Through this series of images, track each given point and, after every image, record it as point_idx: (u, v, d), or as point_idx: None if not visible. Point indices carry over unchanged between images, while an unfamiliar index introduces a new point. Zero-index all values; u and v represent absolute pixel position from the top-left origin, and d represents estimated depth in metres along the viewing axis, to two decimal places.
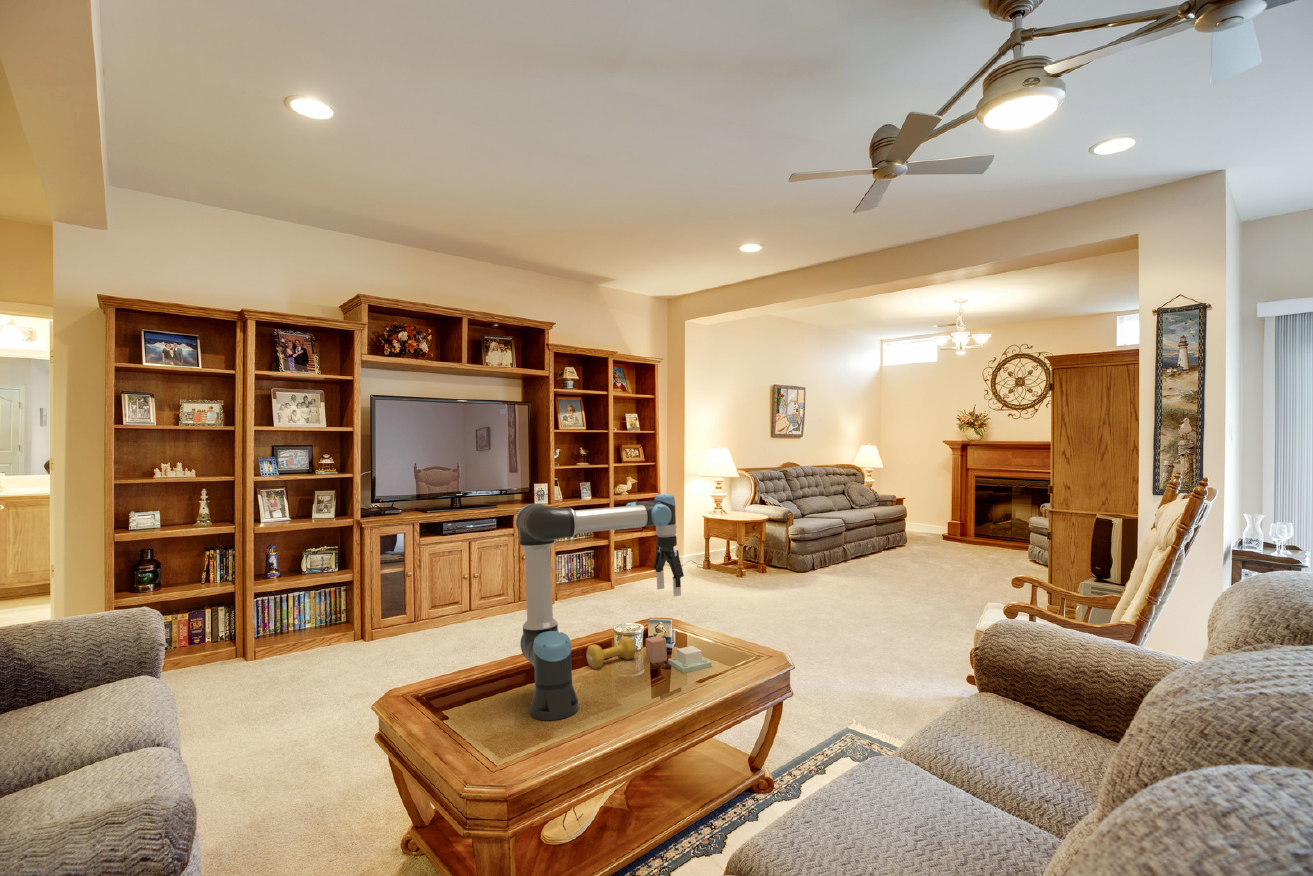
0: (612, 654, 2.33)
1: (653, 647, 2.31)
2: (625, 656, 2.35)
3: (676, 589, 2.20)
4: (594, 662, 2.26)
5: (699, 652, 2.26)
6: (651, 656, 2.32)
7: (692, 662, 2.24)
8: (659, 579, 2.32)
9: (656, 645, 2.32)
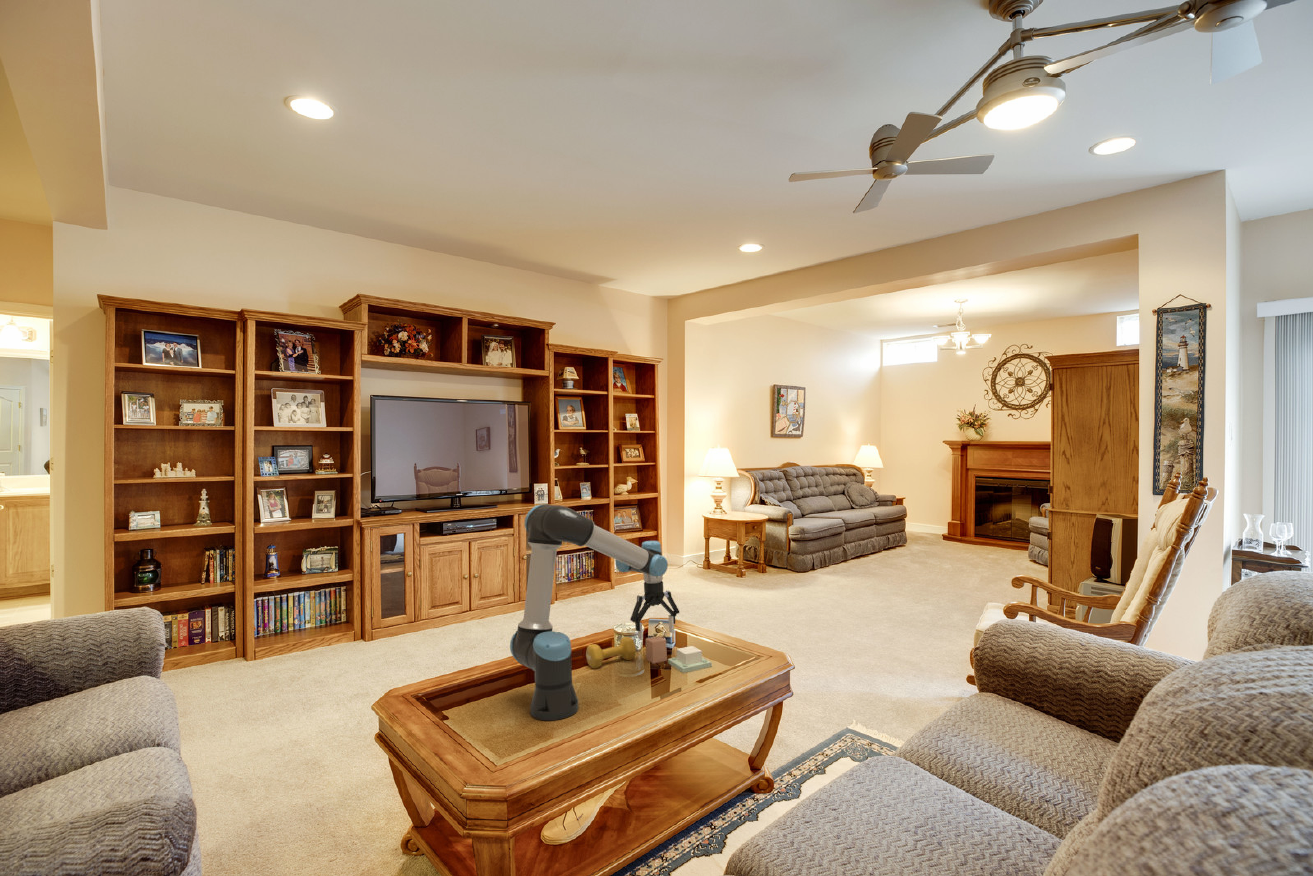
0: (612, 654, 2.33)
1: (653, 647, 2.31)
2: (625, 656, 2.35)
3: (638, 632, 2.33)
4: (593, 661, 2.27)
5: (699, 652, 2.26)
6: (651, 656, 2.32)
7: (692, 662, 2.24)
8: (669, 622, 2.39)
9: (656, 645, 2.32)
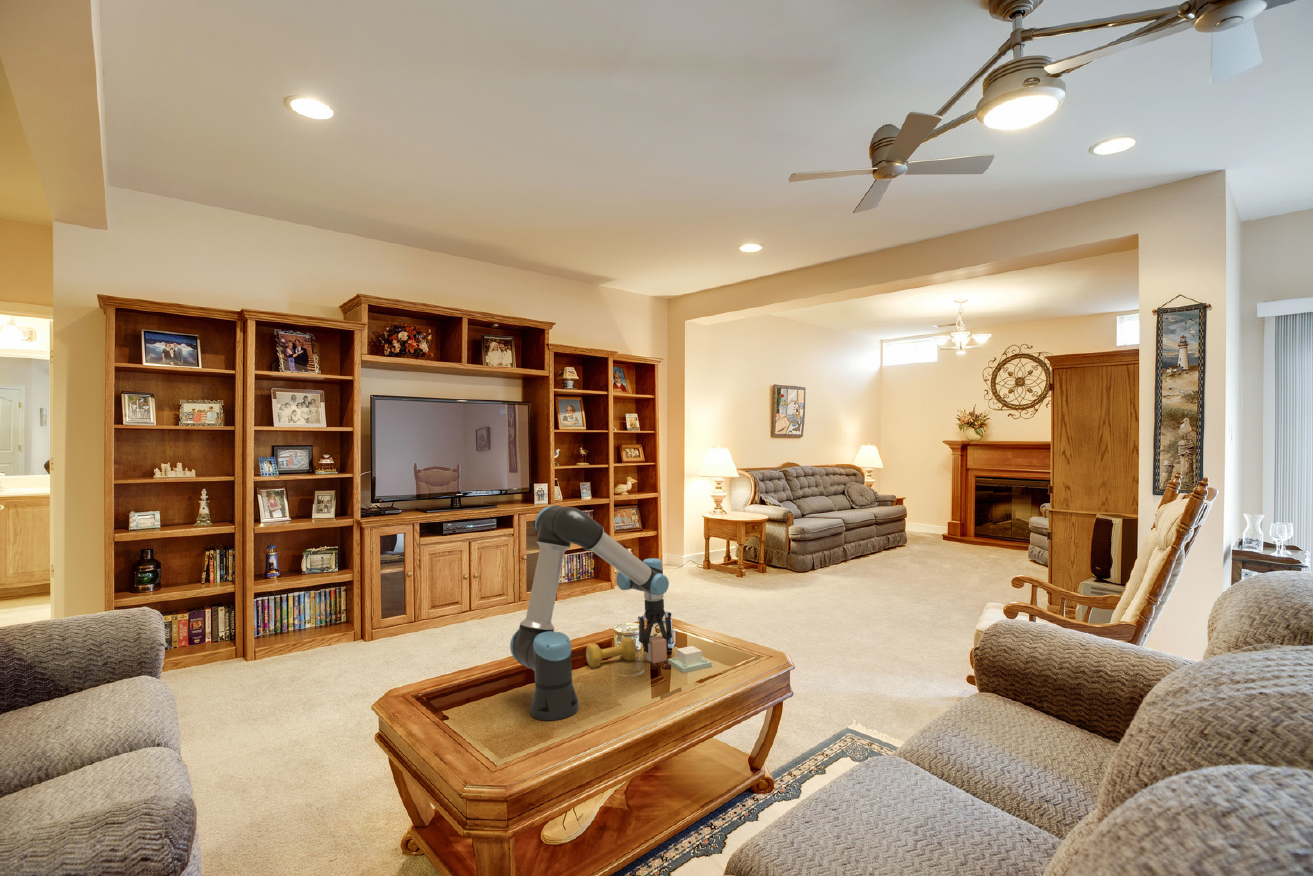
0: (611, 654, 2.33)
1: (653, 647, 2.31)
2: (625, 657, 2.34)
3: (646, 654, 2.34)
4: (591, 661, 2.28)
5: (699, 652, 2.26)
6: (651, 656, 2.32)
7: (692, 662, 2.24)
8: None
9: (656, 645, 2.32)
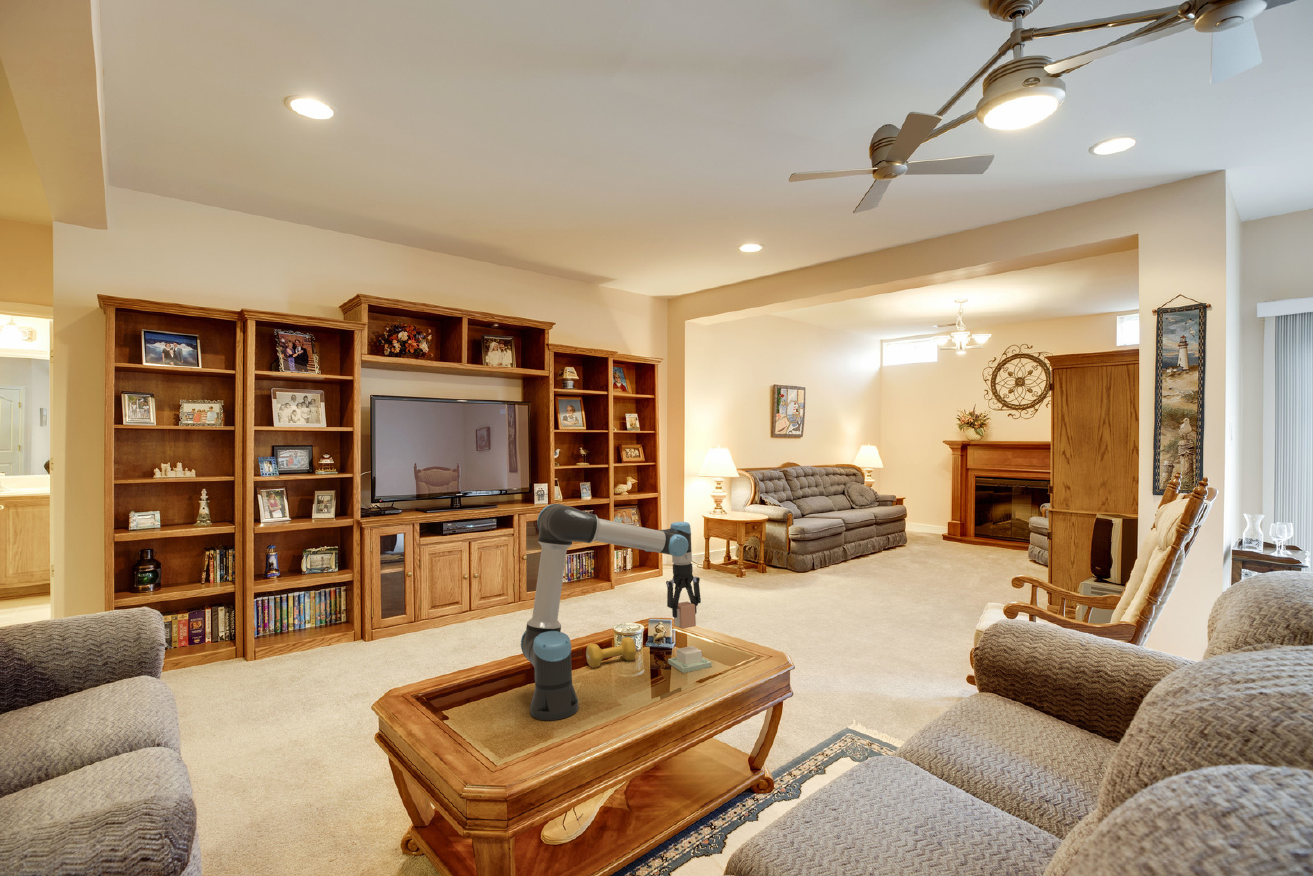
0: (611, 654, 2.33)
1: (682, 612, 2.25)
2: (625, 657, 2.34)
3: (675, 619, 2.28)
4: (591, 661, 2.28)
5: (699, 652, 2.26)
6: (680, 621, 2.26)
7: (692, 662, 2.24)
8: None
9: (685, 609, 2.26)
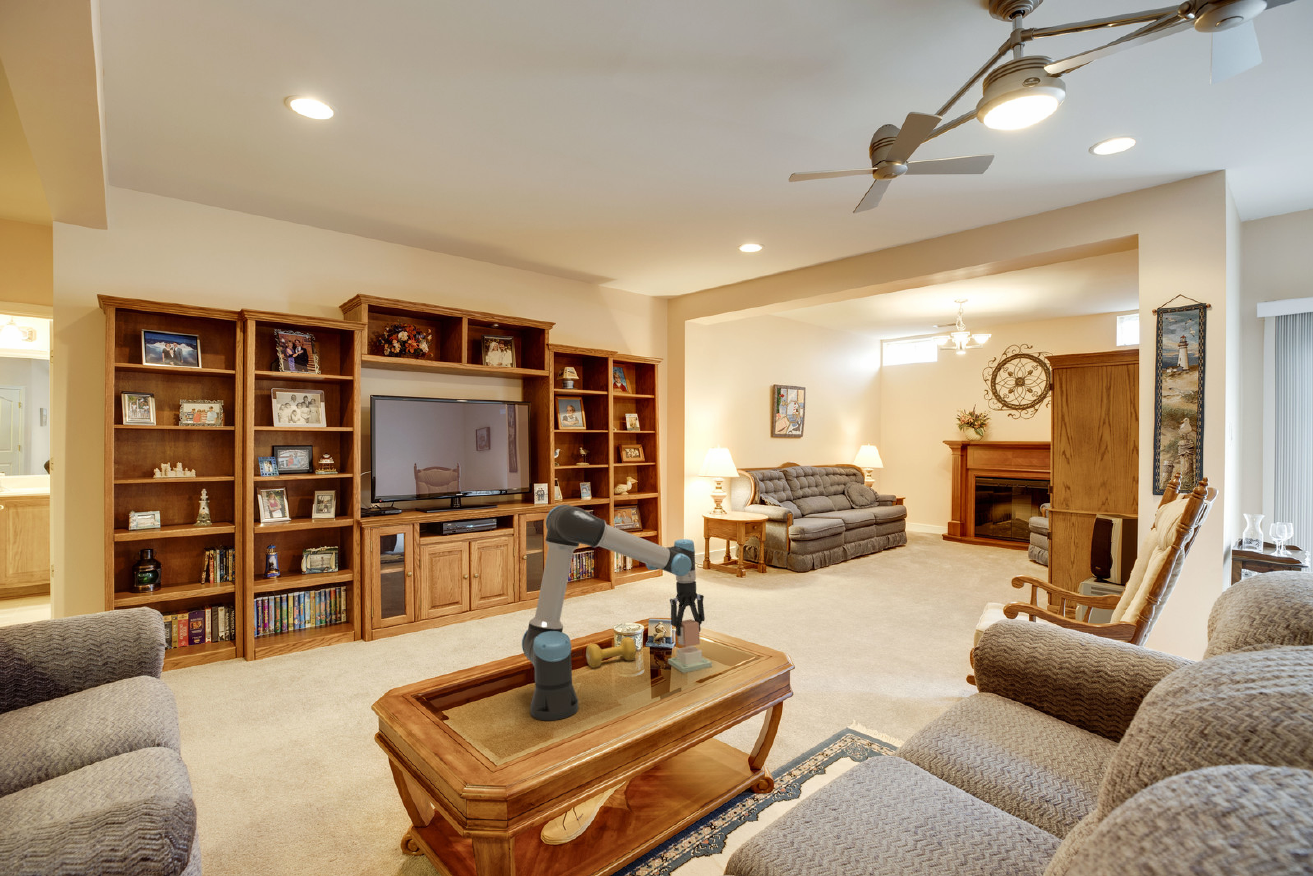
0: (611, 654, 2.33)
1: (686, 630, 2.24)
2: (625, 657, 2.34)
3: (679, 637, 2.27)
4: (591, 661, 2.27)
5: (699, 652, 2.26)
6: (684, 640, 2.25)
7: (692, 662, 2.24)
8: None
9: (688, 628, 2.25)
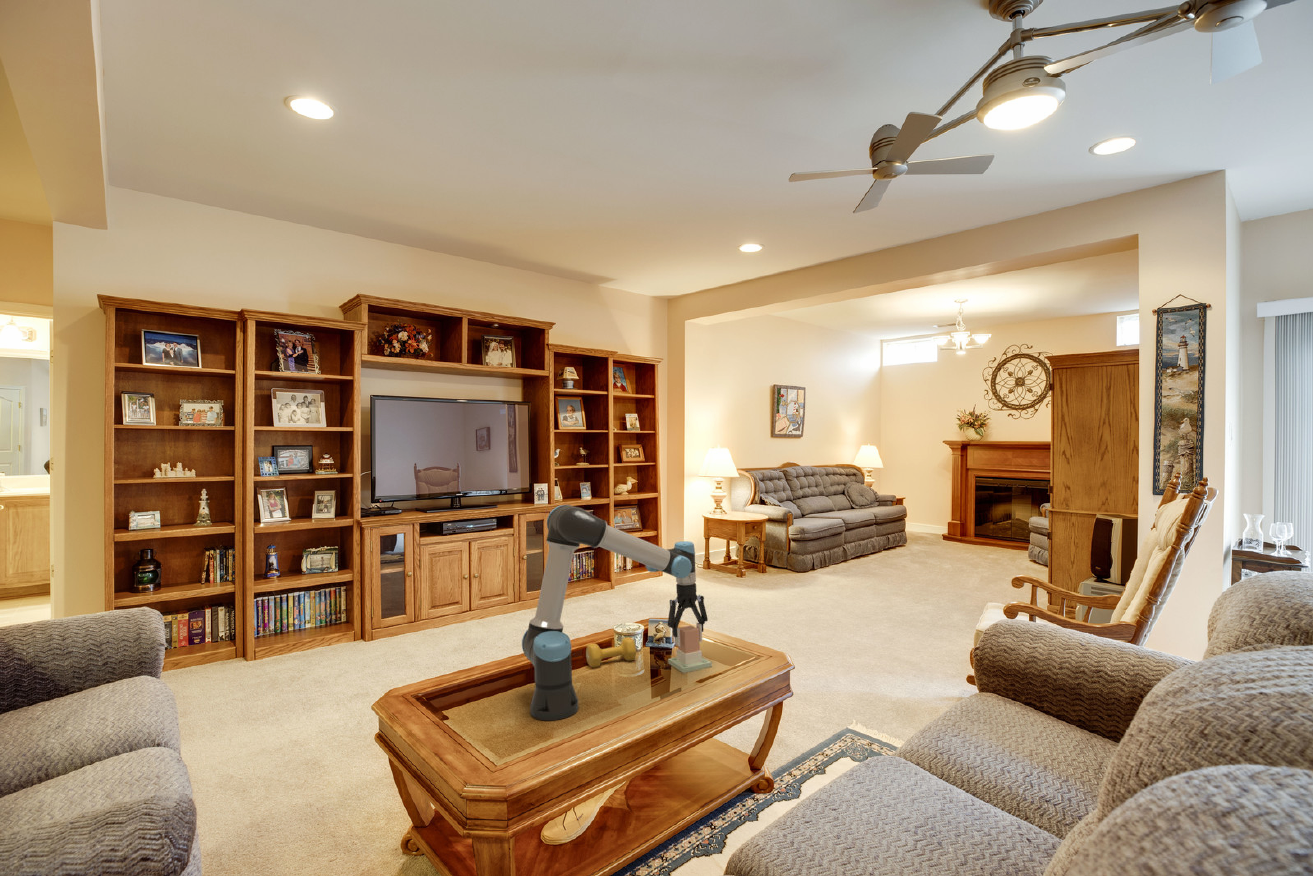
0: (611, 654, 2.33)
1: (686, 637, 2.24)
2: (625, 657, 2.34)
3: (675, 638, 2.26)
4: (591, 661, 2.28)
5: (699, 652, 2.26)
6: (684, 646, 2.25)
7: (692, 662, 2.24)
8: None
9: (688, 634, 2.25)
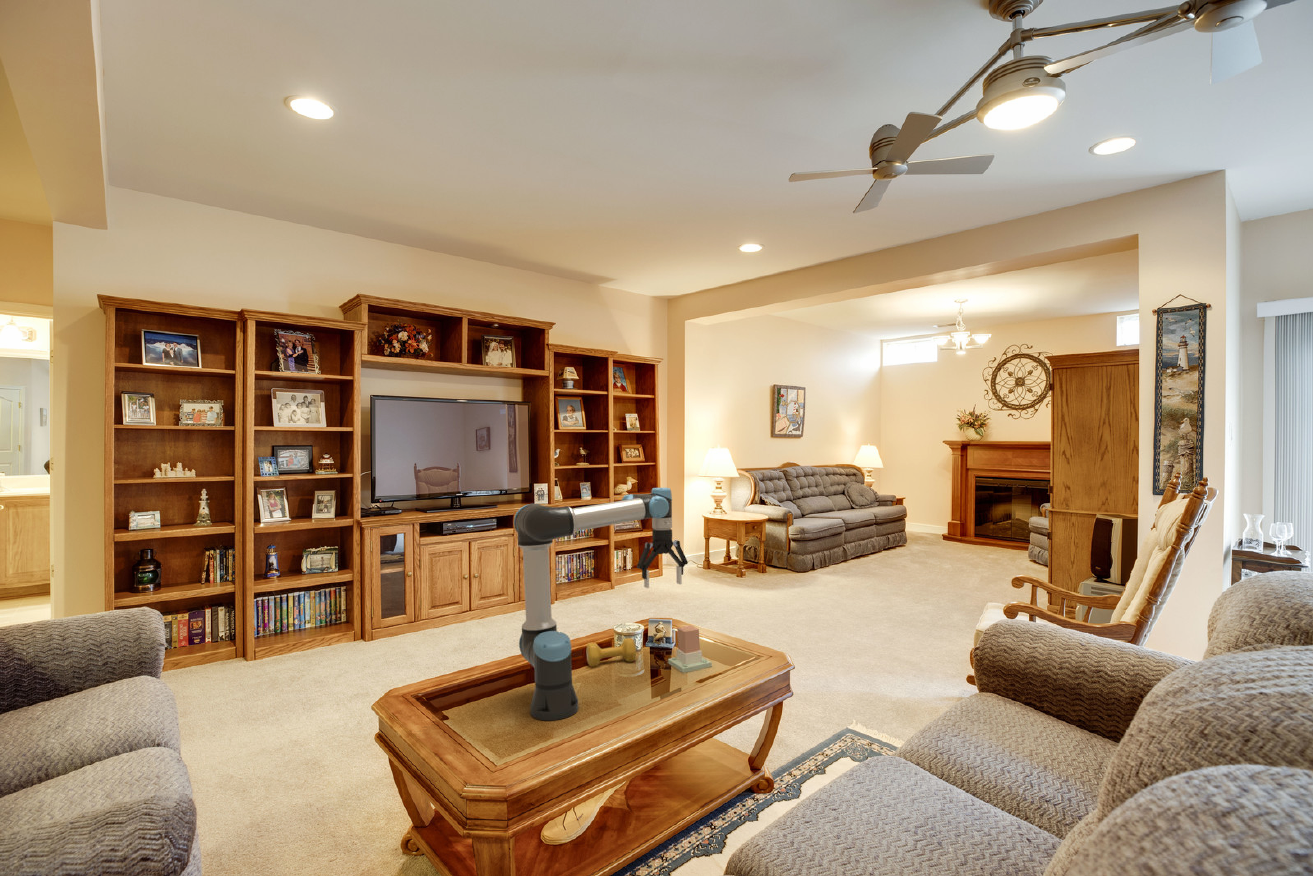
0: (610, 654, 2.33)
1: (686, 637, 2.24)
2: (625, 658, 2.33)
3: (644, 581, 2.24)
4: (589, 660, 2.29)
5: (699, 652, 2.26)
6: (684, 646, 2.25)
7: (692, 662, 2.24)
8: (677, 573, 2.30)
9: (688, 634, 2.25)
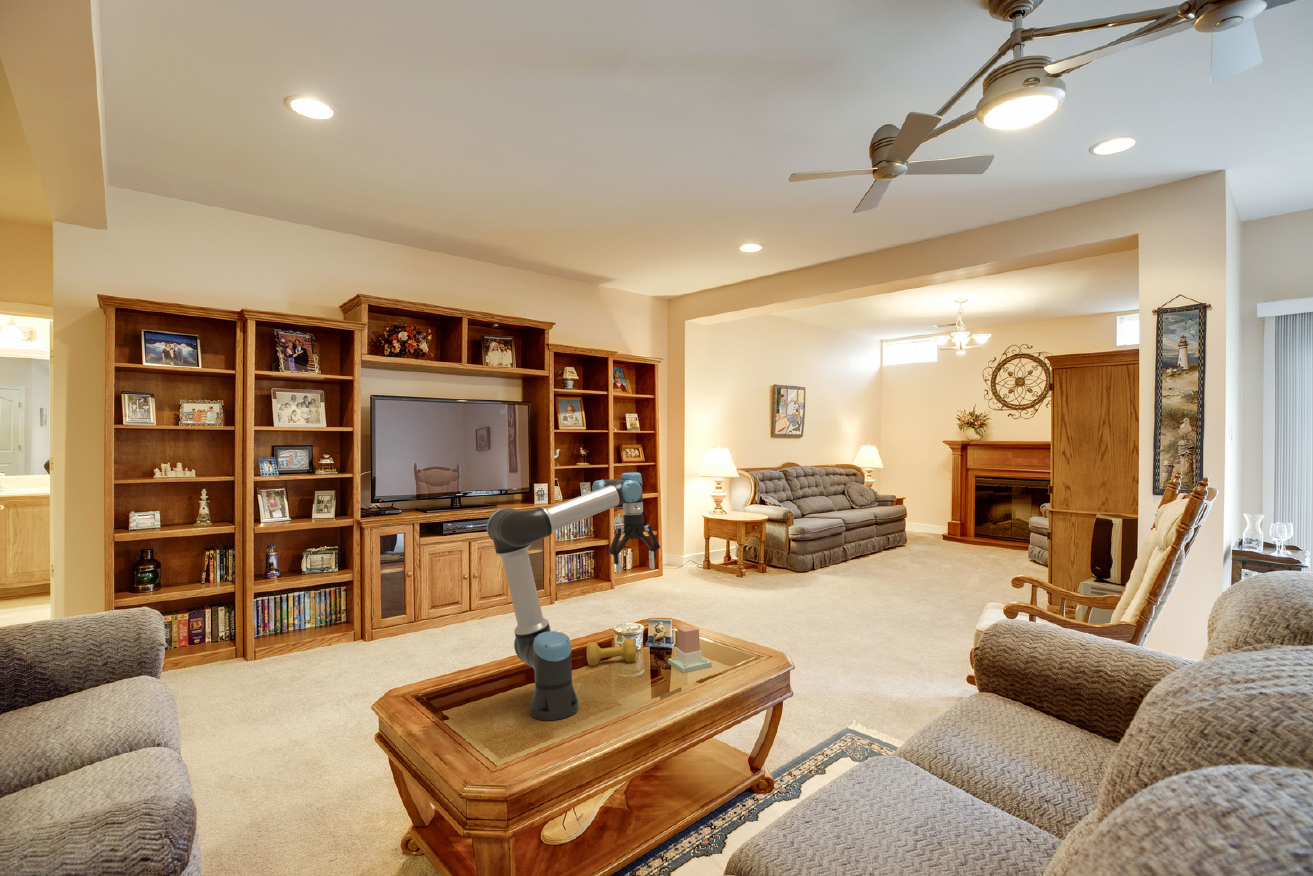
0: (610, 654, 2.33)
1: (686, 637, 2.24)
2: (625, 658, 2.33)
3: (616, 566, 2.23)
4: (588, 659, 2.30)
5: (699, 652, 2.26)
6: (684, 646, 2.25)
7: (692, 662, 2.24)
8: (650, 558, 2.29)
9: (688, 634, 2.25)
